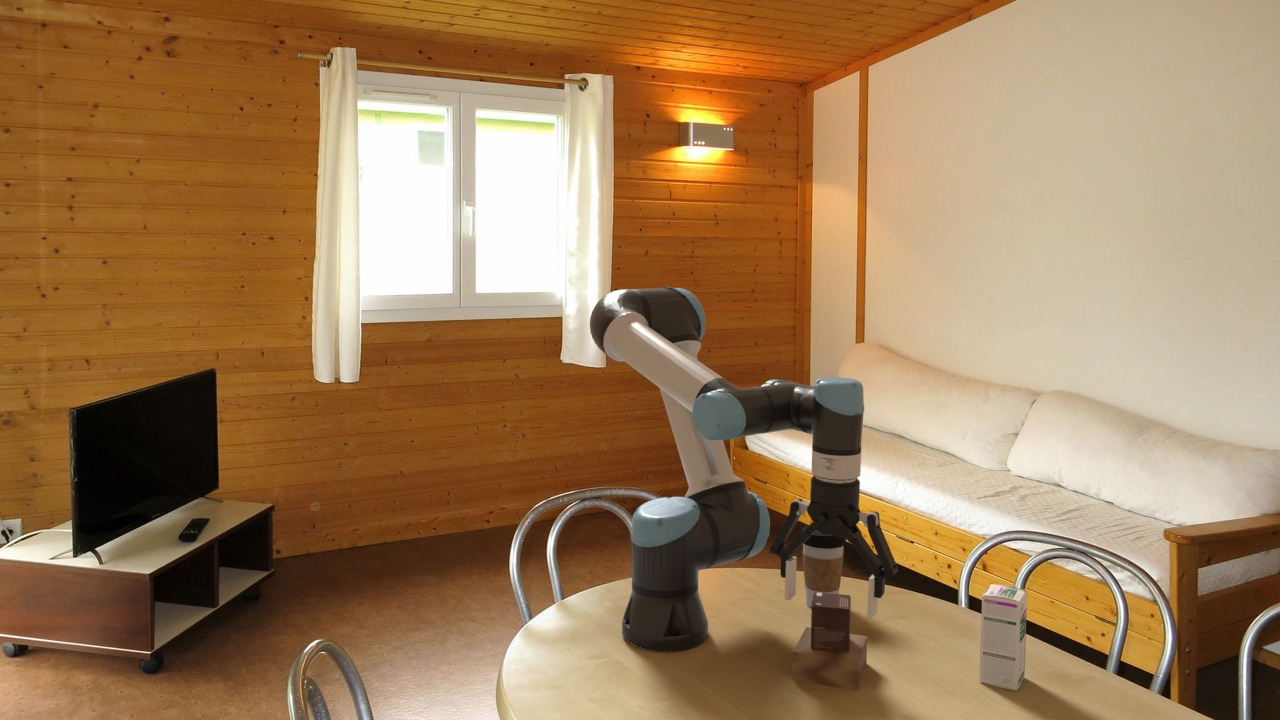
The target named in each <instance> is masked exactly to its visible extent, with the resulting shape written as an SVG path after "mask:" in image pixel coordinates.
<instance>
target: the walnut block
mask: <svg viewBox="0 0 1280 720" xmlns="http://www.w3.org/2000/svg"><path fill="white" fill-rule="evenodd" d="M867 647H868V636H866V635H860V634H856V633H855V634H853V633H850V646H849V652H837V651H826V650H815V649H811V627H807V626H806V627H805V628H804V631H803V632H802V634H801V636H800V637H799V639H798V642H797V644H796V645H795V647H794V649H793V650H792V681H797V682H804V683H809V684H815V685H819V686H820V685H821V686H826V687H833V688H839V689H844V690H850V691H856V692H857V691H858V689H859V686H860V683H861V682H862V681H861V680H862V677H863V675H864V672H865V669H866V666H867V659H868V658H867V656H868V648H867Z"/></svg>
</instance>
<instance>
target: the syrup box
mask: <svg viewBox="0 0 1280 720" xmlns="http://www.w3.org/2000/svg"><path fill="white" fill-rule="evenodd" d="M1027 601H1028V591H1027V590H1026V589H1023V588H1018V587H1016V586H1015V587H1014V586H1010V585H1004V584H1003V585H1002V584H993V583H991V584H989V586H988V588H986V590H985V591H984V592H983V594H982V596H981V620H980V621H981V624H980V657H979V658H980V659H979V660H980V661H979V662H980V663H979V682H980V683H982V684H986V685H989V686H992V687H997V688H1001V689H1006V690H1010V691H1013V692H1014V691H1016V692H1018V690H1019V688H1020V686H1021V684H1022V682H1023V680H1024V678H1025V669H1026V666H1025V665H1026V664H1025V663H1026V642H1027V641H1026V639H1027V638H1026V637H1027V635H1026V634H1027V633H1026V632H1027V608H1028V606H1027V604H1028V602H1027Z"/></svg>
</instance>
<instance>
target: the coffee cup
mask: <svg viewBox="0 0 1280 720" xmlns="http://www.w3.org/2000/svg"><path fill="white" fill-rule="evenodd" d="M808 526H809V525H805V526H804V527H803V528H802V530H801V531H802V532H803V531H804V530H805V529H806V528H807V527H808ZM802 532H801V533H802ZM846 541H847V539H846V538H845V536H843V537H841V538H840V537H835V536H833V535H823V534H822V533H821V532H820V531H818V530H817V531H815V532H814V533H813V534H812V535H811V536H810V537H809V538H808V539H807V540H806V541H805V542H804V543H803V544H802V548H803V550H802V562H803V564H802V566H803V576H804V577H803V578H804V587H805V603H806V605H807V607H809V608H811V609H812V598H813V593H828V594H840V587H841V580H842V573H843V565H844V557H845V556H844V555H845V553H844V547H845V546H846V544H847V542H846Z"/></svg>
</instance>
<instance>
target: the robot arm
mask: <svg viewBox="0 0 1280 720" xmlns="http://www.w3.org/2000/svg"><path fill="white" fill-rule="evenodd" d="M701 303H702V302H700V300H699V299H698V297H697V296H696V295H695V294H694V293H692V291H690V290H687V289H685V288H683V287H682V288H681V287H671V286H663V287H660V288H659V287H657V288H653V287H652V288H631V289H629V288H626V289H617V290H613V291H612V292H608V293H607V294H605V295H604V296H603V297H601V298H600V299H599V300H598V301H597V303H596V304H595V306H594V307H593V309H592V311H591V314H590V318H589V329H590V331H589V332H590V335H591V337H592V340H593V342H594V344H595V345H596V346H597V348H598V349H599V350H600V351H601V352H602V353H604V354H605V355H606V356H607V357H608V358H610V359H612V360H613V361H616V362H625V363H626V364H627V365H629V366H630V367H631V368H632V369H634V370H636V372H638V373H639V374H640V375H642V376H643V377H645V378H646V379H647V380H649V381H650V382H651V383H652V384H654V385H655V386H656V387H658V388H659V391H660V394H661V398H662V400H663V404H664V407H665V411H666V414H667V417H668V420H669V424H670V427H671V431H672V434H673V437H674V441H675V445H676V446H677V447H676V448H677V452H678V454H679V458H680V461H681V464H682V467H683V471H684V474H685V478H686V481H687V485H688V489H687V491H686V494H685V495H684V496H672V497H668V496H665V497H664V496H663V497H659V498H655V499H651V500H649V501H647V502H644V503H643V504H641V505H639V506H638V507H637V508H636V509H635V511H634V513H633V515H632V521H631V531H630V540H631V593H630V596H629V599H628V603H627V605H626V608H625V612H624V615H623V618H622V622H621V624H622V625H621V634H623V635H622V637H623V636H624V638H625V639H626V640H627V641H629V642H630V643H632V644H634V645H636V646H638V647H637V648H639V647H641V648H640V649H642V648H644V649H643V650H646V649H647V651H652V650H653V651H654V652H678V651H685V650H689V649H693V648H695V647H698V646H699V645H701V644H703V643H704V642H705V641H706V640H707V639H708V636H709V621H708V618H707V615H706V612H705V609H704V605H703V602H702V598H701V596H700V594H699V593H700V592H699V571H702V570H705V569H711V568H716V567H718V566H722V565H725V564H726V565H727V564H730V563H735V562H736V563H738V562H742V561H744V560H746V559H747V558H751V557H754V556H756V555H757V554H759V553H760V552H762V550H763V549H764V547H765V546H766V544H767V542H768V538H769V536H770V533H771V532H770V530H771V519H770V518H771V517H770V514H769V510H768V507H767V505H766V503H765V501H764V500H763V499H762V498H760V496H759V495H758V494H756V493H754V492H750V491H749V490H748V489H747V485H746V482H745V479H742V478H741V477H739V476H738V475H736V474H734V471H733V468H732V464H731V462H730V459H729V455H728V452H727V449H726V446H725V442H724V441H730V440H734V439H738V438H743V437H748V436H755V435H761V434H769V433H775V432H782V431H787V430H790V431H791V430H794V431H798V432H802V433H805V434H809V435H812V441H811V442H812V445H811V446H812V450H811V474H812V475H813V476H812V477H811V478H810V492H809V493H810V494H809V495H810V497H809V499H810V501H809V503H808V502H805V501H803V499H802V498H797V499H795V500H793V501H792V502H791V503H790V507H789V513H788V515H787V518H786V520H785V521H784V523H783V524H782V526H781V528H780V530H779V531H778V533H777V535H776V537H775V539H774V541H773V542H772V544H771V545H770V547H769V551H770V554H775V555H776V556H778V557H779V559H780V577H781V578H783V579H784V578H785V581H784V583H785V584H784V585H785V586H784V600H785V601H790V600H791V599H793V597H795V596H796V586H797V563H798V562H797V558H798V557H797V556H792V555H793V554H794V553H795V552H796V551H797V550H798V549H799V548H800V547H801V546H803V543H804V542H805V541H806V540H807V539H808V538H809V537H810V536H811V535H812V534H813V533H814V532H815V531H817V530H818V531H820V532H821V533H822V534H823V535H833V536H835V537H840V538H841V537H843V536H845V538H846V541H847V542H848V543H850V544H851V545H852V547H853V548H854V549H855V551H856V553H857V554H858V555H859V557H860V558H861V560H862V561H863V562H864V564H865V565H866V567H867V569H868V570H869V571H870V573H871V575H870V577H869V578H868V589H867V590H868V591H867V592H868V593H867V609H866V610H867V612H866V614H867V615H866V618H867V619H869V620H873V619H874V618H875V617H876V615H877V614H878V603H879V599H881V598H882V597H883V596H884V594H885V590H886V589H885V588H886V578H893V577H894V576H895V575H896V574H897V572H898V571H899V567H898V565H897V563H896V560H895V558H894V555H893V553H892V551H891V549H890V546H889V543H888V541H887V539H886V536H885V534H884V532H883V530H882V528H881V520H880V513H879V512H878V511H876V510H874V511H872V512H861V510H860V488H861V487H860V486H861V481H860V480H859V477H860V476H861V470H862V468H861V467H862V466H861V465H862V440H863V439H862V438H863V437H862V436H863V435H862V434H863V423H864V422H863V421H864V412H865V403H864V402H865V401H864V386H863V384H862V383H861V381H859V380H857V379H856V378H855V379H854V378H850V377H841V376H826V377H820V378H818V379H817V380H815V382H814V386H813V385H808V384H803V383H798V382H796V381H795V382H794V381H791V380H789V379H783V380H782V379H769V380H767V381H766V382H764V383H763V384H761V386H753V387H752V386H751V387H744V388H741V387H738V386H737V385H734V384H733V383H731V382H730V381H728V380H727V379H725V378H724V377H722V376H721V375H720V374H718V373H717V372H715V371H714V370H712V369H711V368H710V367H708V366H707V365H705V364H704V363H702V362H701V361H699V360H698V356H697V355H698V353H699V352H700V350H701V348H702V343H701V340H702V339H703V337H704V335H705V332H706V327H705V326H704V325H706V323H707V321H706V314H705V313H706V312H705V311H704V308H703V305H702V304H701ZM806 512H807V514H808V516H809V517H810V519H811V521H812V522H811V523H810V524H809V525H807V526H808V527H807V528H806V529H805V530H804V531H803V532H801V533H800V534H799V535H798V536H797V537H796V538H795V539H794V540H793V541H792V542H791V543H789V545H787V547H786V546H785V543H786V542H787V540H788V538H789V536H790V534H792V531H793V530H794V528H795V526H796V524H797V522H798V521H799V519H800V517H801V516H803V515H804V514H805V513H806ZM860 521H861V522H862V523H863V525H864V527H865V528H867V532H868V535H869V537H870V540H871V542H872V544H873V547H874V549H875V551H876V552H875V551H874V550H873V549H872V547H871V546H870V544H869V543H868V542H867V540H866V539H865V537H864V536H863V534H862V530H860V528H859V526H858V525H857V524H858V523H859V522H860ZM876 554H877V555H876ZM624 638H623V639H624ZM625 639H624V640H625ZM626 640H625V641H626ZM627 641H626V642H627ZM630 643H629V644H630ZM632 644H631V645H632ZM634 645H633V646H634ZM636 646H635V647H636Z"/></svg>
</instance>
